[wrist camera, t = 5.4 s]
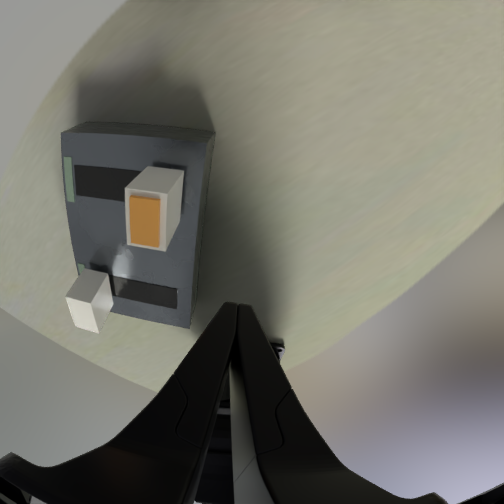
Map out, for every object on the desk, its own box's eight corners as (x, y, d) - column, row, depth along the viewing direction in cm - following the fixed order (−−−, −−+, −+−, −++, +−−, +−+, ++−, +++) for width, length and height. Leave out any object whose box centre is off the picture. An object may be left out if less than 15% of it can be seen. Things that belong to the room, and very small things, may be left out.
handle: (108, 273, 18) (90, 303, 16) (113, 303, 20) (99, 333, 18) (84, 268, 18) (65, 296, 16) (91, 298, 20) (75, 326, 17)
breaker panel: (215, 132, 16) (206, 143, 14) (195, 301, 24) (189, 329, 22) (86, 122, 16) (60, 133, 13) (99, 282, 23) (86, 305, 21)
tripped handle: (184, 170, 14) (166, 195, 12) (179, 221, 16) (164, 253, 13) (147, 166, 14) (123, 189, 11) (146, 215, 16) (125, 246, 13)
